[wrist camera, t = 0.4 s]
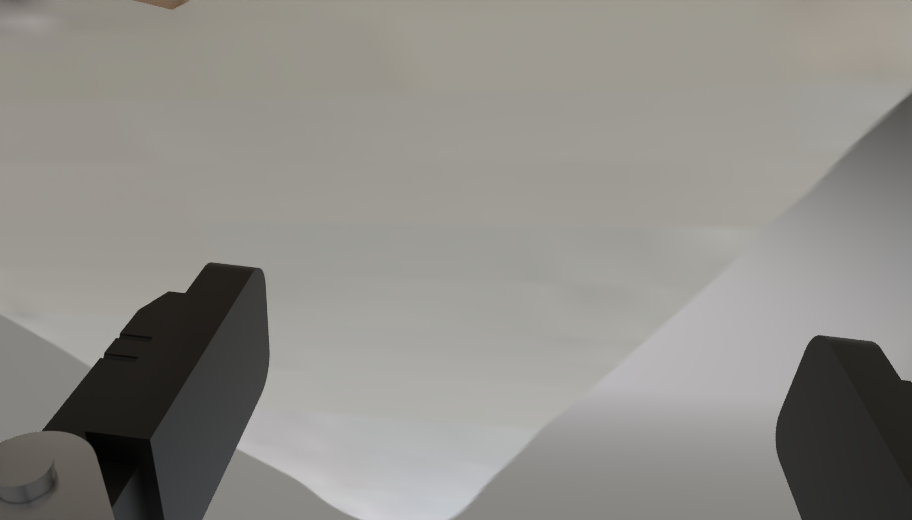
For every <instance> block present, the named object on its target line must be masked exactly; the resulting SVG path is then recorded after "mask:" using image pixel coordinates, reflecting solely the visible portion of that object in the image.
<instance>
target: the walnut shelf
mask: <svg viewBox="0 0 912 520" xmlns="http://www.w3.org/2000/svg"><path fill="white" fill-rule="evenodd" d="M135 1H139V2H143V3H147V4H151V5H155V6H159V7H163V8H168V9H174V8H176V7H178V6H180V5H182V4H184V3H186V2H188V1H189V0H135Z"/></svg>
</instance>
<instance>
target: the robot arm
mask: <svg viewBox="0 0 912 520" xmlns="http://www.w3.org/2000/svg"><path fill="white" fill-rule="evenodd" d="M269 354H270V353H269V334H268V318H267V301H266V285H265V277H264V273H263V271H262V270H261V269H260V268H254V267H246V266H237V265H229V264H220V263H212V262H211V263H208V264H207V265H206V266H205V267H204V268H203V270H202V271H201V272H200V274H199V275H198V276H197V278H196V279H195V281H194V282H193V283H192V285H191V286H190V287H189V289H188V290H187V291H186V293H178V292H170V291H169V292H167V293H165V294H164V295H162V296H161V297H159V298H157V299H156V300H154V301H152V302H151V303H149V304H148V305H146V306H144V307H143V308H141V309H139V310H138V311H137V313H136V314H135V315H134V316H133V318H132V319H131V320H130V321H129V323H128V324H127V325H126V326H125V328H124V329H123V330H122V331H121V333H120V337H119V338H116V339H115V340H114V341H113V343H112V344H111V345H110V346H109V348H108V349H107V350H106V351H105V353H104V358H100V359H99V360H98V361H97V363H96V364H95V365H94V366H93V368H92V369H91V370H90V371H89V373H88V374H87V375H86V376H85V378H84V379H83V380H82V381H81V383H80V384H79V385H78V386H77V388H76V389H75V390H74V391H73V393H72V394H71V395H70V397H69V398H68V399H67V400H66V401H65V403H64V404H63V405H62V406H61V408H60V409H59V410H58V412H57V413H56V414H55V415H54V416H53V418H52V419H51V420H50V421H49V423H48V424H47V425H46V426H45V428H44V429H43V430H42V431H41V432H33V433H28V434H24V435H20V436H16V437H13V438H10V439H8V440H5V441H3V442H1V443H0V520H202V519H203V517H204V515H205V512H206V510H207V508H208V506H209V504H210V502H211V500H212V498H213V496H214V494H215V491H216V489H217V487H218V485H219V483H220V481H221V479H222V477H223V474H224V472H225V470H226V468H227V466H228V464H229V462H230V460H231V457H232V455H233V453H234V451H235V449H236V447H237V445H238V443H239V440H240V438H241V436H242V434H243V432H244V430H245V428H246V426H247V423H248V421H249V419H250V417H251V415H252V413H253V411H254V409H255V407H256V404H257V402H258V400H259V398H260V396H261V394H262V391H263V389H264V386H265V382H266V378H267V373H268V367H269ZM776 449H777V454H778V458H779V461H780V464H781V466H782V469H783V471H784V474H785V476H786V479H787V482H788V485H789V487H790V490H791V492H792V495H793V497H794V500H795V503H796V505H797V508H798V511H799V513H800V516H801V519H802V520H912V382H911V381H905V380H901V379H900V377H899V376H898V374H897V373H896V371H895V370H894V368H893V366H892V365H891V364H890V362H889V360H888V359H887V357H886V356H885V354H884V353H883V351H882V350H881V348H880V347H879V346H878V345H877V344H876V343H874V342H872V341H864V340H855V339H847V338H838V337H829V336H820V335H818V336H815V337H814V338H813V339H812V340H811V341H810V342H809V344H808V345H807V347H806V350H805V352H804V355H803V357H802V360H801V362H800V365H799V367H798V369H797V372H796V374H795V377H794V379H793V382H792V384H791V386H790V389H789V391H788V394H787V396H786V399H785V401H784V404H783V406H782V409H781V411H780V414H779V417H778V421H777V426H776Z"/></svg>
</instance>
